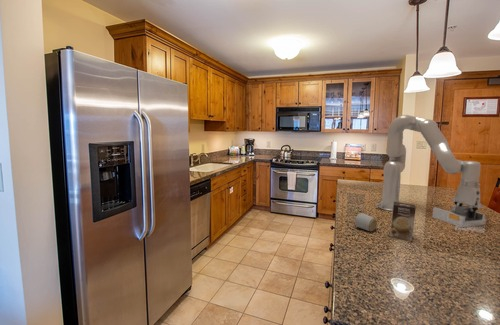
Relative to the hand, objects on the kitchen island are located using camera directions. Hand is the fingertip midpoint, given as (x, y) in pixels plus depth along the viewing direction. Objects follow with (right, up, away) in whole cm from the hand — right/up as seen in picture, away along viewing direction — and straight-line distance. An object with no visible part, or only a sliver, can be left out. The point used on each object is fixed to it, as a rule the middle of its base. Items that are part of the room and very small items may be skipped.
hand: (464, 215), depth 143 cm
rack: (-1, -4, +4) cm, 6 cm away
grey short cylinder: (-58, -5, -9) cm, 59 cm away
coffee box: (-46, -6, -19) cm, 51 cm away
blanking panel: (0, -3, 0) cm, 3 cm away
